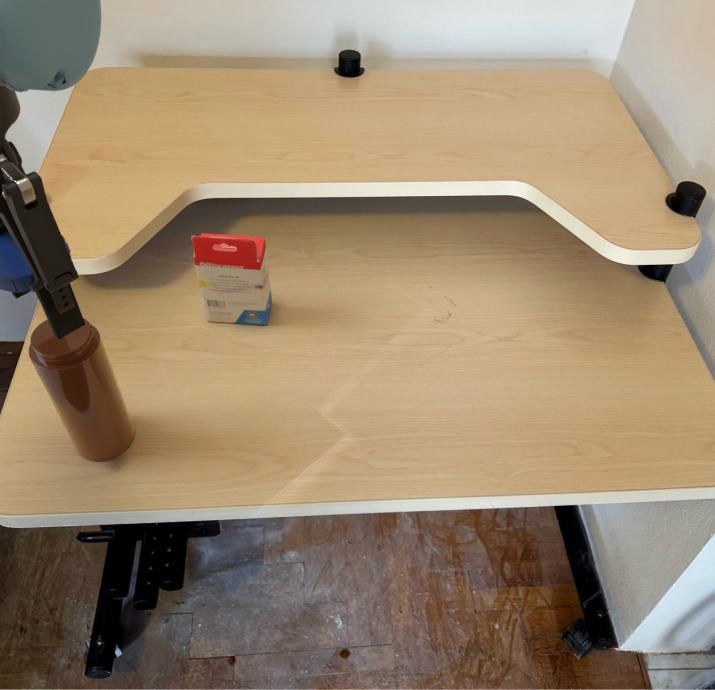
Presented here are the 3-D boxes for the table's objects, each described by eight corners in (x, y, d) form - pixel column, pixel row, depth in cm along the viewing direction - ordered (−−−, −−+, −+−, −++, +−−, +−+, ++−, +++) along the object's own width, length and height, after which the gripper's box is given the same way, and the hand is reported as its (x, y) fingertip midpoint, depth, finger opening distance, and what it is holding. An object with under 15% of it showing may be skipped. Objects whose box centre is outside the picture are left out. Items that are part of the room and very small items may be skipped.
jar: (95, 472, 75) (47, 371, 62) (63, 437, 78) (10, 334, 65) (146, 435, 79) (110, 333, 66) (113, 404, 82) (72, 300, 69)
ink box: (272, 302, 95) (265, 217, 84) (267, 327, 91) (258, 242, 80) (213, 297, 95) (197, 212, 84) (205, 322, 91) (188, 237, 81)
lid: (46, 231, 62) (40, 216, 61) (86, 266, 59) (81, 251, 58) (-27, 265, 59) (-35, 250, 58) (11, 304, 56) (4, 289, 54)
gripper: (72, 100, 44) (144, 342, 60) (-64, 12, 53) (31, 244, 69) (-42, 142, 40) (69, 388, 56) (-168, 40, 49) (-40, 278, 65)
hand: (48, 309), depth 63 cm, fingers closed on lid, 7 cm apart
